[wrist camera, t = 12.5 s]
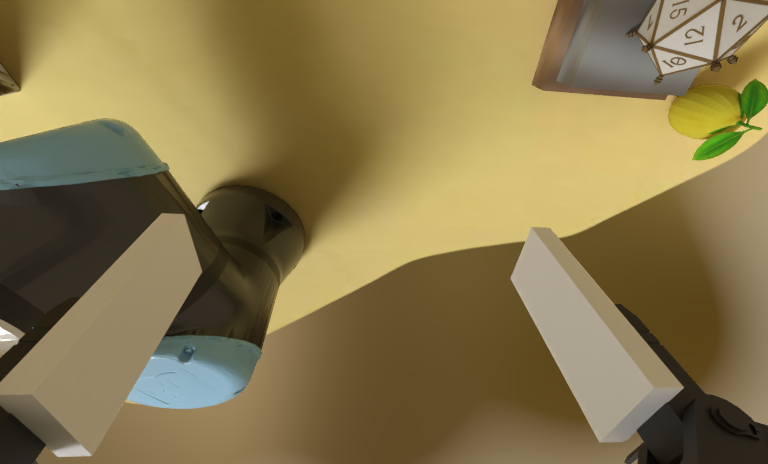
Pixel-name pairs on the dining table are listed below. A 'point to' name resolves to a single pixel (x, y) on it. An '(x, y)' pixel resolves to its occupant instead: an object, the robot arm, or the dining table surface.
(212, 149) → the dining table surface
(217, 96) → the dining table surface
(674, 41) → the game die
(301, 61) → the dining table surface
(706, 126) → the lemon
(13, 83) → the coffee box
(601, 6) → the tower base
